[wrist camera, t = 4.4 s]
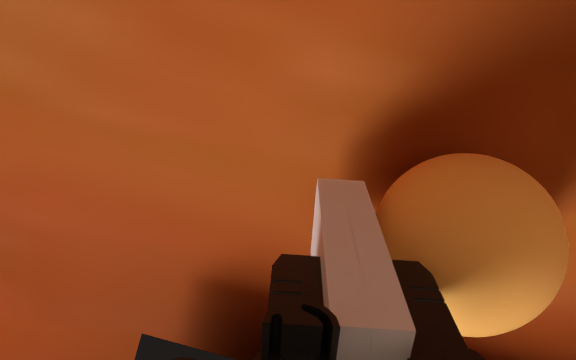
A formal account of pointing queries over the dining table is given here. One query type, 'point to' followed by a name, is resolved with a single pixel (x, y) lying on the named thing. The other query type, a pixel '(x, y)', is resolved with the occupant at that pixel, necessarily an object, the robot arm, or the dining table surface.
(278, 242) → the dining table surface
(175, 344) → the lantern
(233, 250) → the dining table surface
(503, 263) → the ball
